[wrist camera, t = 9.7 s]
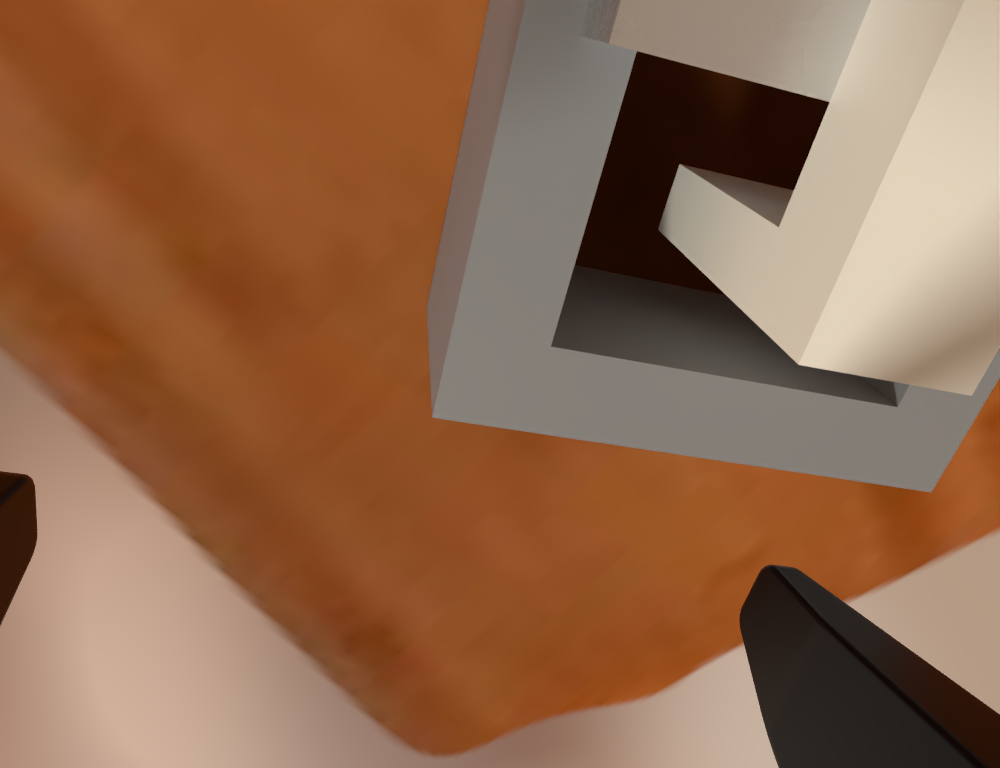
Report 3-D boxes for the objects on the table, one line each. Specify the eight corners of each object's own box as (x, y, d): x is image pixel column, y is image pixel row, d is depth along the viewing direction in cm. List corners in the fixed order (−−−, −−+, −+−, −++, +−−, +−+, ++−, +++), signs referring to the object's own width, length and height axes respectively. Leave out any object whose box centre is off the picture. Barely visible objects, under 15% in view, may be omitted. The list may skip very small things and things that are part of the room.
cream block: (657, 229, 17) (798, 364, 11) (821, -263, 13) (1187, -488, 7) (775, 254, 18) (972, 396, 11) (965, -209, 14) (1419, -373, 8)
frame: (426, 307, 20) (432, 417, 15) (607, -575, 13) (739, -954, 8) (810, 376, 23) (931, 492, 18) (1146, -336, 16) (1526, -506, 10)
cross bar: (580, 36, 12) (608, 43, 10) (616, -106, 11) (654, -124, 10) (1076, 167, 14) (1171, 192, 12) (1140, 56, 13) (1251, 65, 12)
